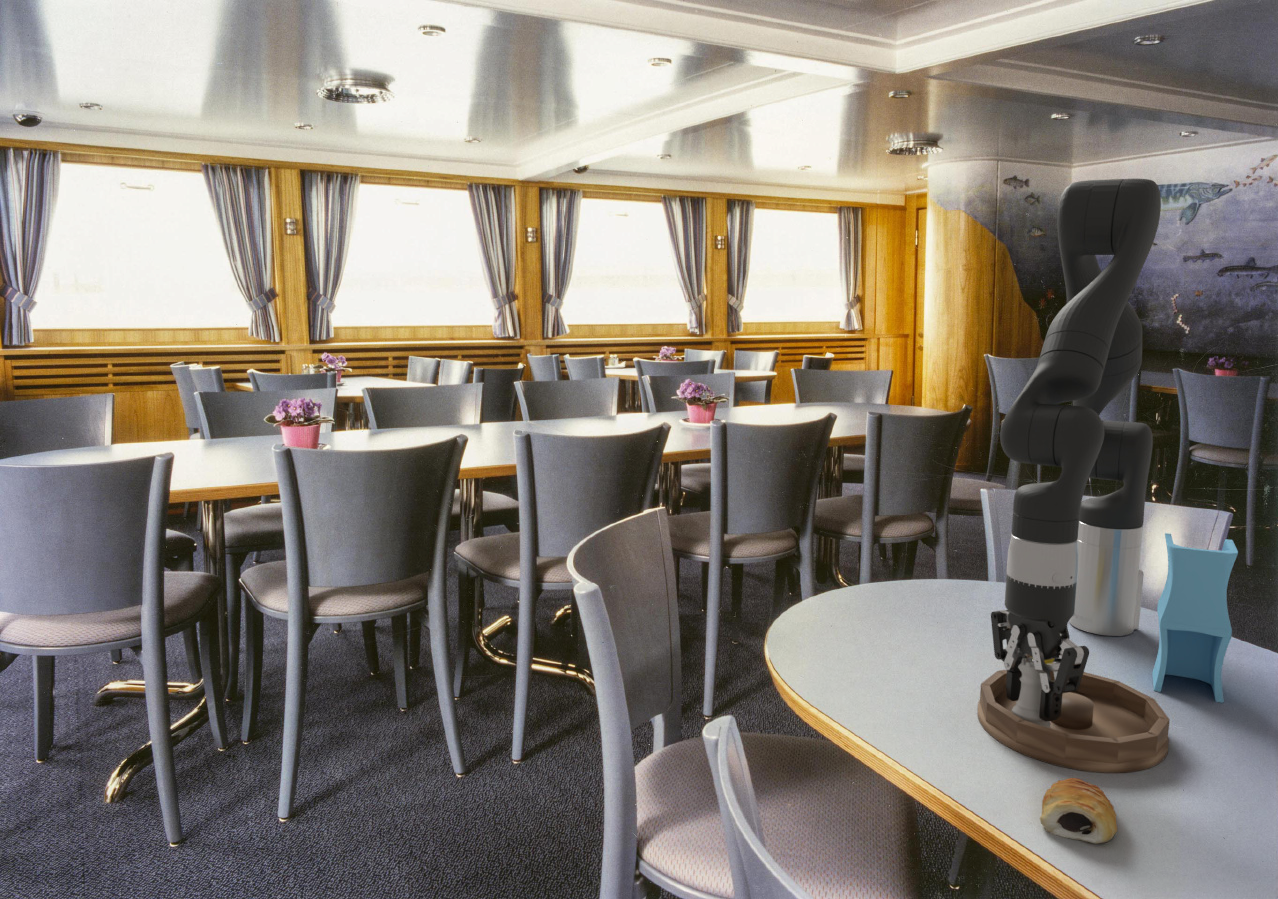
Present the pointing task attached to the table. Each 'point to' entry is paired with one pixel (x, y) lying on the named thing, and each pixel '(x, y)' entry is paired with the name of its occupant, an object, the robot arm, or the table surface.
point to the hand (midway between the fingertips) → (1031, 708)
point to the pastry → (1078, 811)
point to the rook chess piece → (1029, 694)
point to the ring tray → (1083, 748)
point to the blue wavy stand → (1194, 615)
